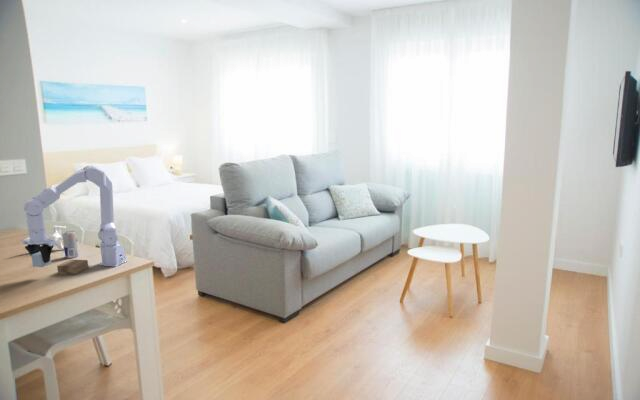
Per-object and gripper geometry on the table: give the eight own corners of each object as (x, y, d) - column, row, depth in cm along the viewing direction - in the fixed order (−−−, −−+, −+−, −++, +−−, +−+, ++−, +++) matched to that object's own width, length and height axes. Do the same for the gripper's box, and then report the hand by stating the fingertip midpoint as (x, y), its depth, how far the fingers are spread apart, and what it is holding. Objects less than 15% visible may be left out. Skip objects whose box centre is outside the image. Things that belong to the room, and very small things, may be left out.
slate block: (51, 263, 177) (49, 252, 176) (41, 267, 172) (40, 255, 171) (42, 262, 178) (41, 251, 177) (33, 266, 174) (31, 254, 173)
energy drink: (68, 255, 205) (65, 231, 203) (80, 254, 205) (77, 230, 203) (63, 258, 200) (59, 234, 198) (75, 258, 200) (71, 233, 198)
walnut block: (88, 268, 186) (87, 260, 185) (75, 275, 179) (74, 266, 178) (72, 268, 188) (71, 259, 187) (58, 274, 180) (57, 265, 179)
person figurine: (24, 236, 200) (64, 222, 213) (18, 237, 209) (56, 224, 222) (36, 261, 202) (75, 246, 215) (29, 262, 211) (67, 247, 224)
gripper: (13, 231, 170) (18, 263, 173) (42, 232, 167) (47, 266, 169) (29, 226, 177) (34, 258, 180) (57, 228, 173) (62, 260, 176)
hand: (41, 261), depth 175 cm, fingers closed on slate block, 4 cm apart
